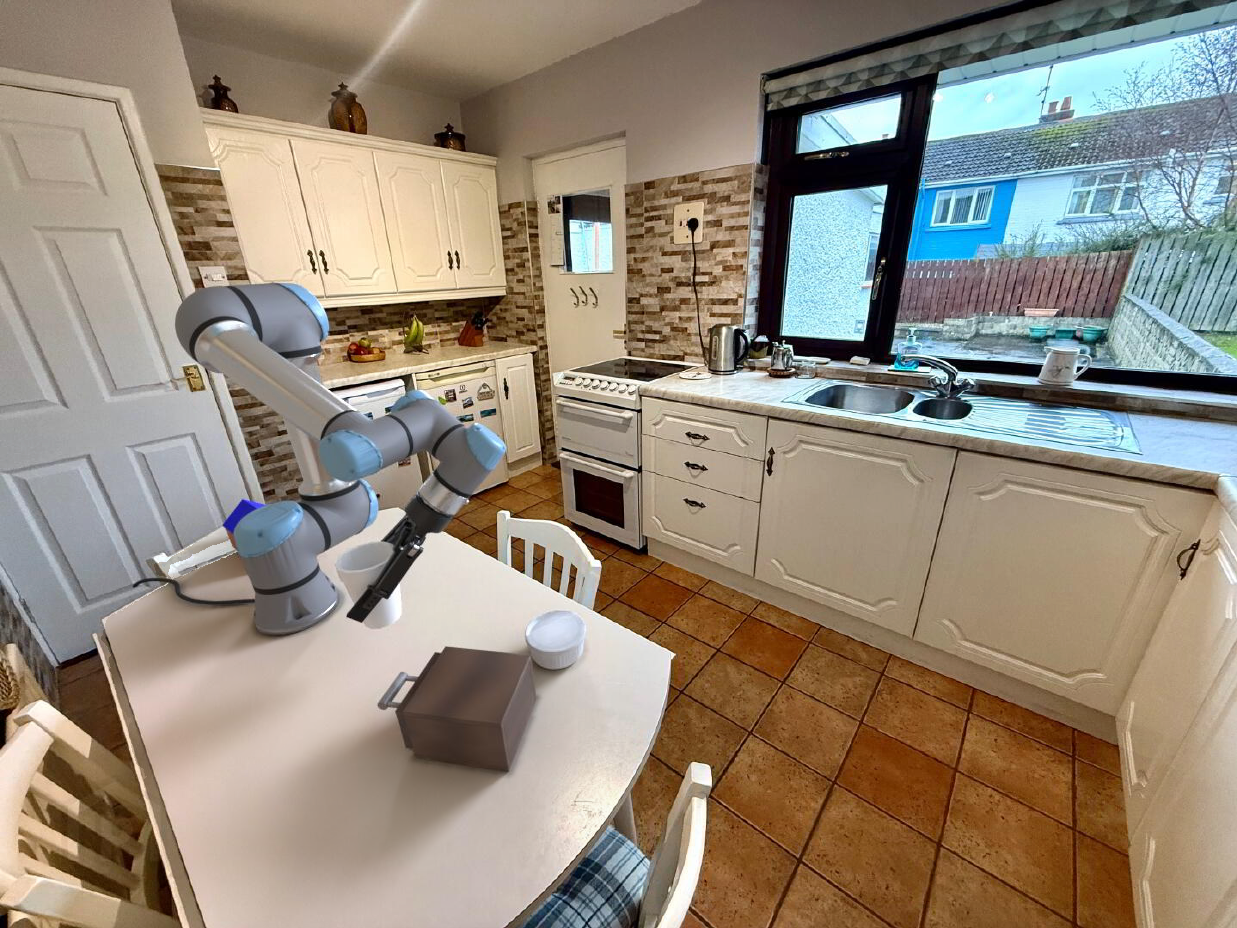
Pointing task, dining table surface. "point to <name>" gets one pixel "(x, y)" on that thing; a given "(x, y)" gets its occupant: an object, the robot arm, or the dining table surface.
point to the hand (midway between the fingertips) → (357, 600)
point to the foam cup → (369, 580)
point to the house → (239, 517)
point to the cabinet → (472, 708)
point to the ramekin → (556, 638)
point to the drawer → (395, 688)
